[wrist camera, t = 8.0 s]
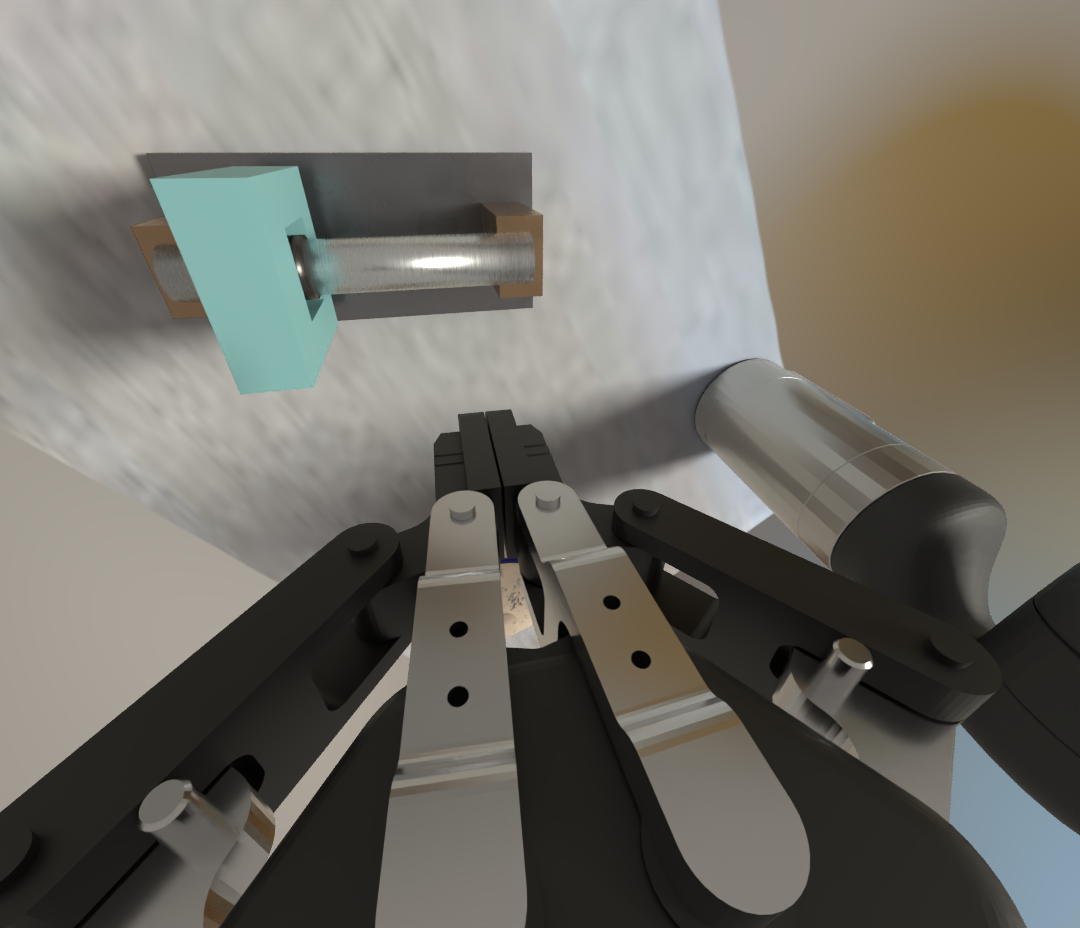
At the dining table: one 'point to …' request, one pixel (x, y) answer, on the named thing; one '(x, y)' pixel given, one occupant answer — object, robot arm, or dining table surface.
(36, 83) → the dining table surface
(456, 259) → the pipe rig
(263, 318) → the collar
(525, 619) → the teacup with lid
